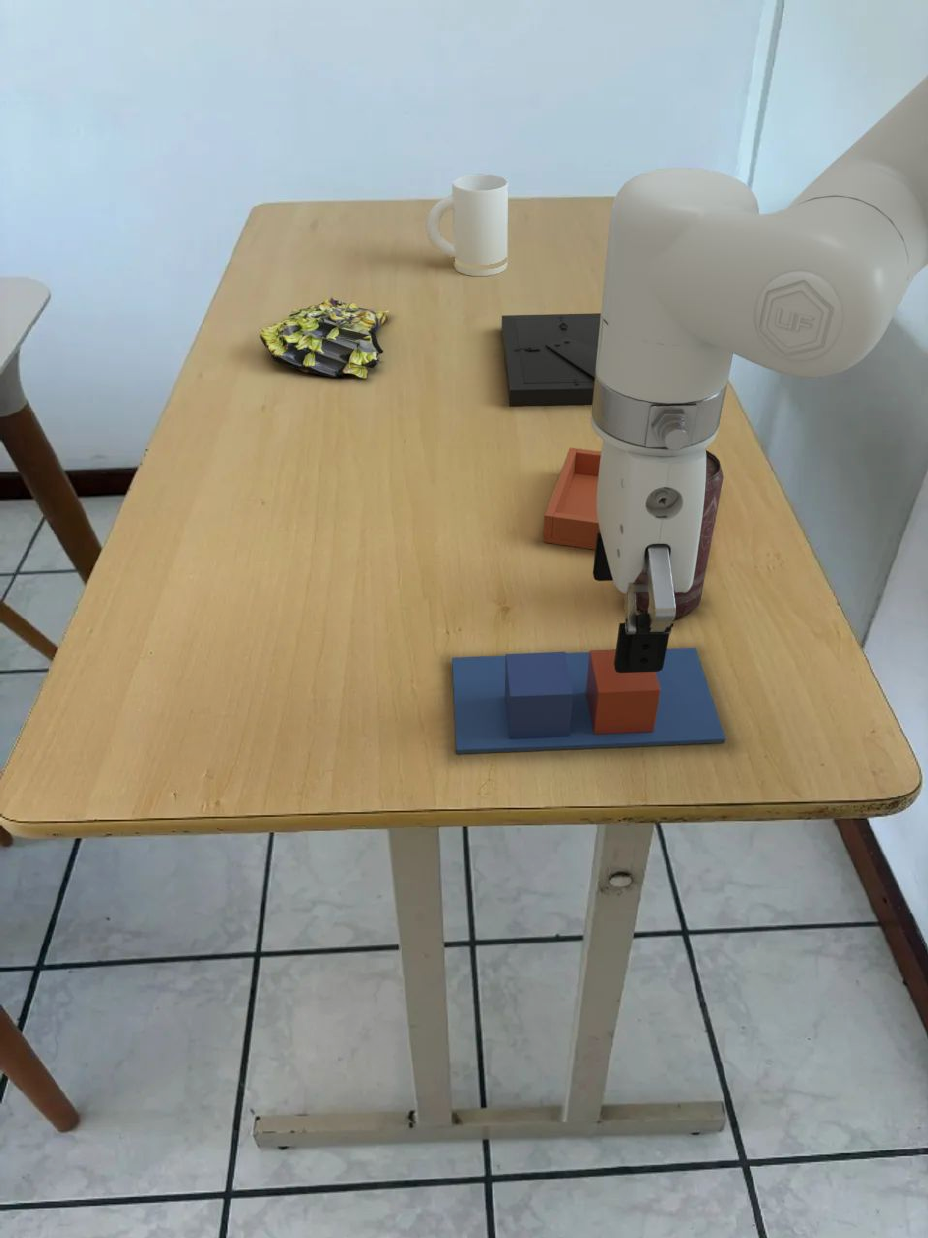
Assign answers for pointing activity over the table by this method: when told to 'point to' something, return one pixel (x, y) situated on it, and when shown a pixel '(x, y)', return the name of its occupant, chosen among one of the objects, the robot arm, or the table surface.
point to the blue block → (538, 695)
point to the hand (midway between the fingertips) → (625, 621)
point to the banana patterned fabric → (327, 339)
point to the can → (711, 500)
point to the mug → (474, 223)
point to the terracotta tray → (575, 502)
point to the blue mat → (582, 708)
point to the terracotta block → (620, 696)
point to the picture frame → (550, 358)
